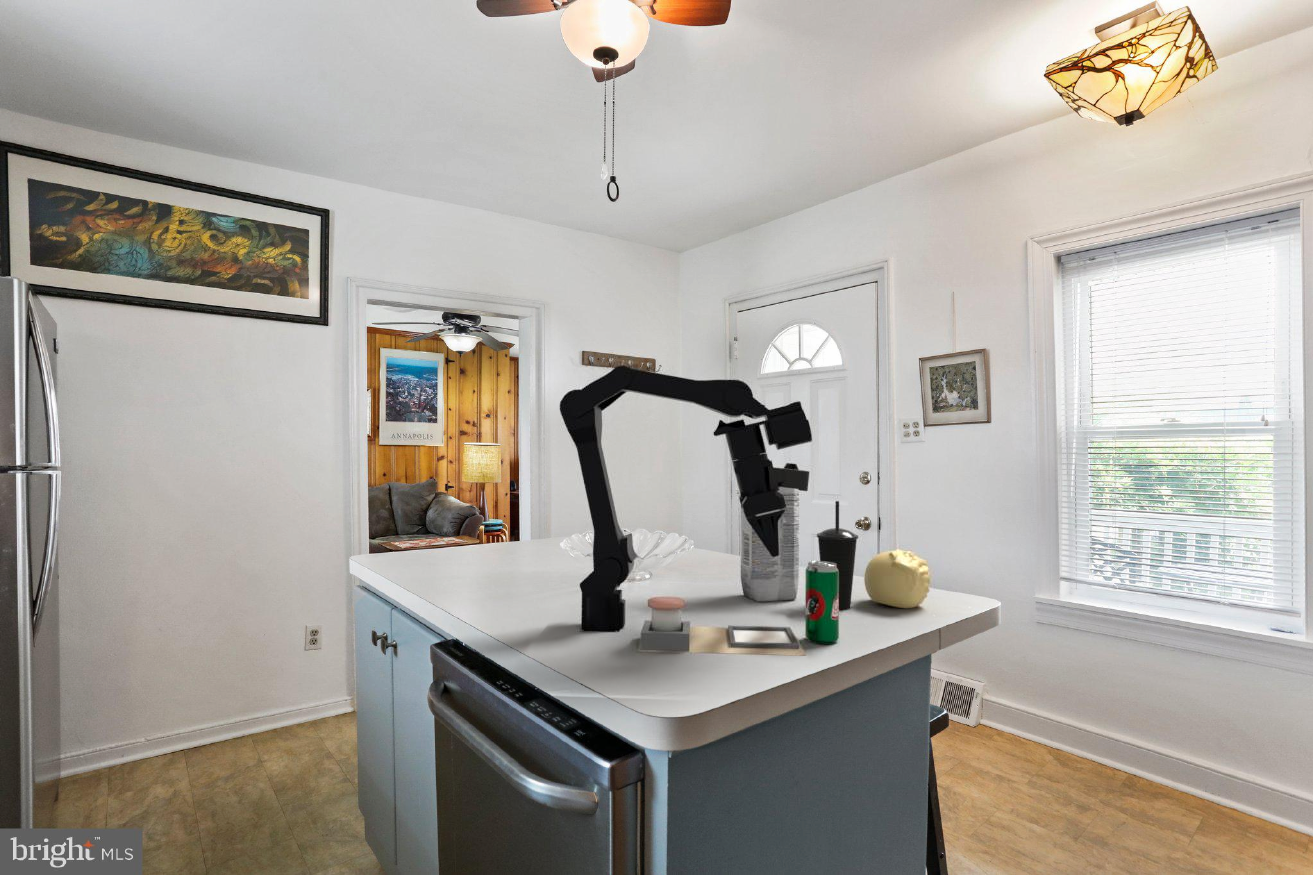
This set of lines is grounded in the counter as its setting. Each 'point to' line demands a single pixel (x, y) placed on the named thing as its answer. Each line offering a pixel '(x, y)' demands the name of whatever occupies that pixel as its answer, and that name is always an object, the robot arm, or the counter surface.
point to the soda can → (822, 602)
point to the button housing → (665, 638)
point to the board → (742, 641)
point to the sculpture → (897, 579)
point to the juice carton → (768, 573)
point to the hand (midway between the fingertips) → (773, 551)
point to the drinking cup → (840, 556)
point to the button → (666, 613)
